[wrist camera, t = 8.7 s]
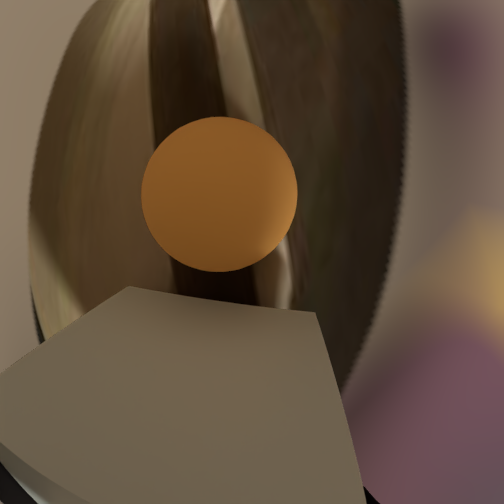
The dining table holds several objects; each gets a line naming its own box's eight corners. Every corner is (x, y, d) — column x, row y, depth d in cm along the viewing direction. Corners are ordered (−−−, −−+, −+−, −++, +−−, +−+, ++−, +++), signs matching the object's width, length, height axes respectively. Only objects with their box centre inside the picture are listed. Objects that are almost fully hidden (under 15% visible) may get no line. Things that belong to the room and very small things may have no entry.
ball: (315, 150, 5) (302, 112, 9) (96, 142, 5) (172, 106, 9) (284, 315, 8) (287, 226, 12) (131, 291, 9) (178, 214, 12)
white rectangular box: (283, 440, 12) (278, 587, 3) (142, 414, 12) (73, 533, 4) (315, 312, 10) (373, 540, 2) (128, 285, 11) (-38, 403, 2)
